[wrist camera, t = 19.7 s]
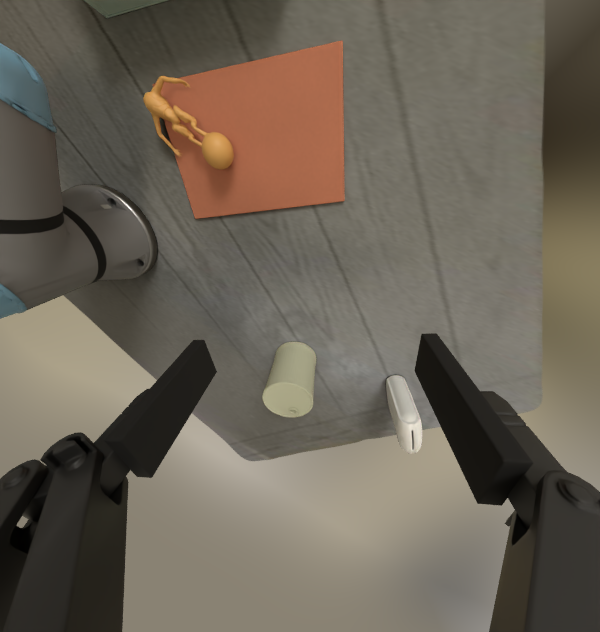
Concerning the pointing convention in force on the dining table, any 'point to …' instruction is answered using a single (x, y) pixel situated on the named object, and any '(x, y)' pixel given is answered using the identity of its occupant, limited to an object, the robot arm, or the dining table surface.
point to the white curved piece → (404, 414)
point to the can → (291, 380)
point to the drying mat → (265, 132)
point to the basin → (120, 6)
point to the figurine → (213, 144)
